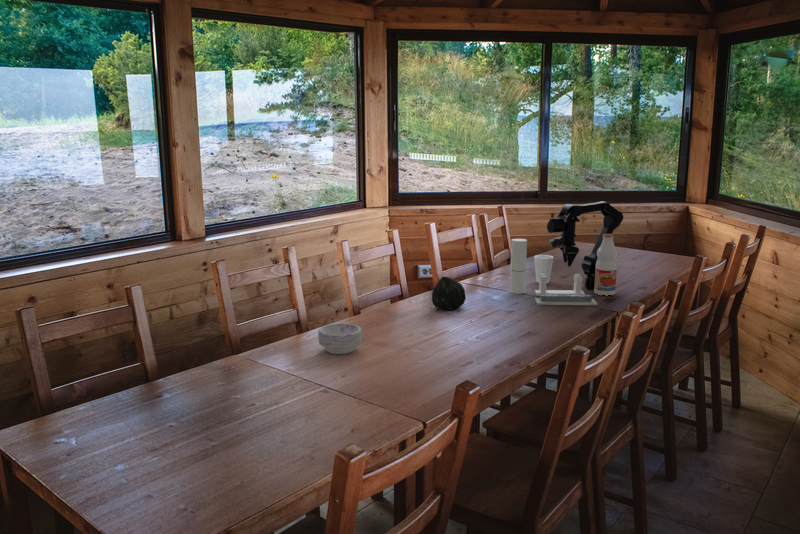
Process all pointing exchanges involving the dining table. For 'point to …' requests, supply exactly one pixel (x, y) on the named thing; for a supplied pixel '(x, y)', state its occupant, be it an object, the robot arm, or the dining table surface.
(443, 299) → the squash
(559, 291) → the stand
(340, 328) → the paper bowls
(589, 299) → the metal rail
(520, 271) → the cylindrical container
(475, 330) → the dining table surface
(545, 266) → the foam cup
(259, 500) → the dining table surface
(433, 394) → the dining table surface
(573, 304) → the pale sage plank
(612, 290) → the fruit juice
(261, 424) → the dining table surface
